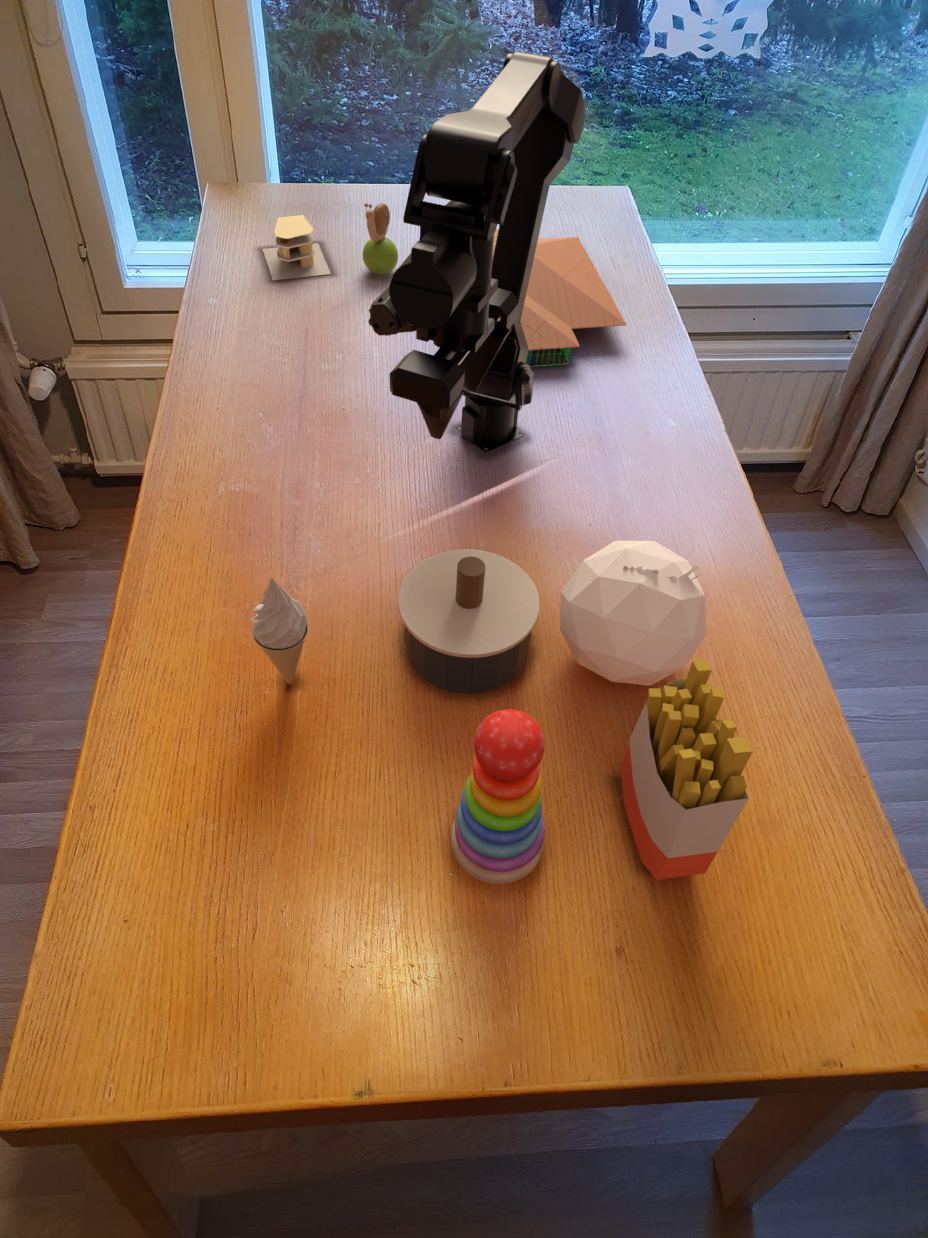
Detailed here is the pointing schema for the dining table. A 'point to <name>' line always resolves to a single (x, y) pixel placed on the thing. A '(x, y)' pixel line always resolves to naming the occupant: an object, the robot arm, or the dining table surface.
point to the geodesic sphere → (633, 612)
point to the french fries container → (683, 776)
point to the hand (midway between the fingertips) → (454, 413)
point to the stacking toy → (502, 801)
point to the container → (466, 667)
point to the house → (563, 297)
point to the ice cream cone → (280, 629)
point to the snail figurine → (379, 241)
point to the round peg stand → (468, 603)
